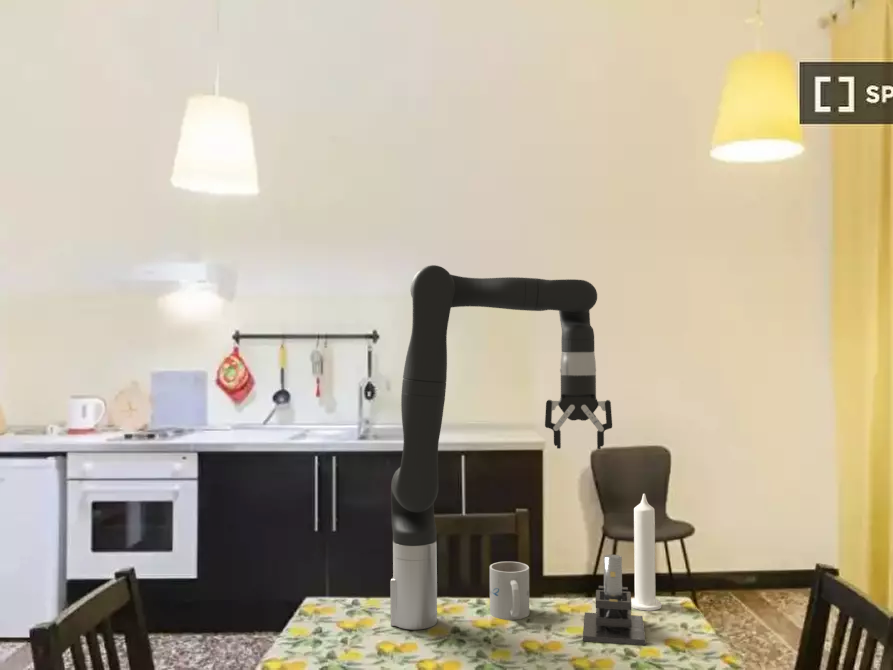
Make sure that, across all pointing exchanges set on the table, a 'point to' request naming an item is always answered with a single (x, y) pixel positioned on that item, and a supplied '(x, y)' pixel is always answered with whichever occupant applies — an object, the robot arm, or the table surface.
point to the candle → (644, 557)
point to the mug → (509, 590)
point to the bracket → (613, 622)
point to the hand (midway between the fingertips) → (578, 448)
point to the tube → (613, 584)
